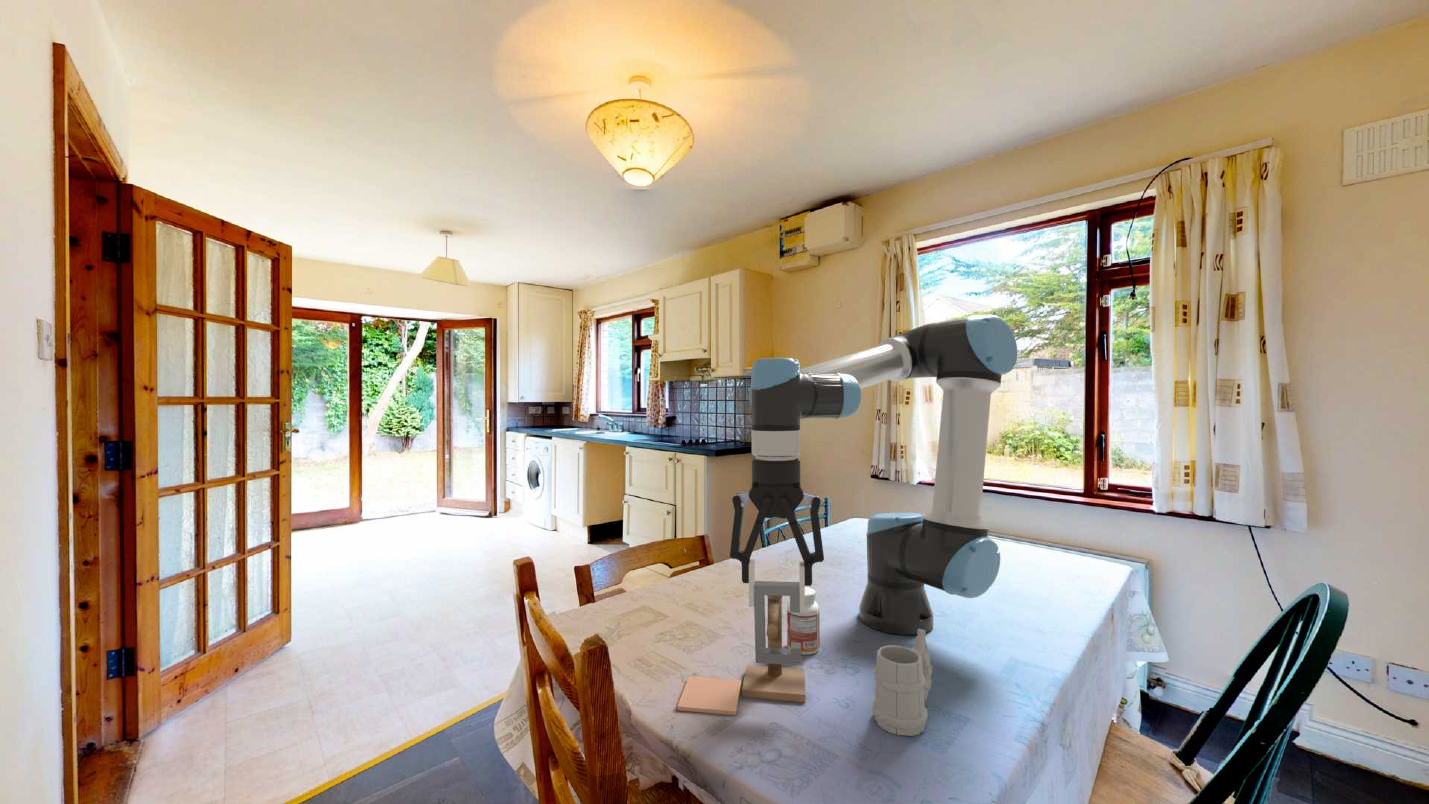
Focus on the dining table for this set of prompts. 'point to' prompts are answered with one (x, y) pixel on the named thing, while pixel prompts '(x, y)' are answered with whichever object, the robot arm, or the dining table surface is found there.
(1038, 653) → the dining table surface
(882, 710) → the mug
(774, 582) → the c link
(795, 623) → the pill bottle
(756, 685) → the hook stand
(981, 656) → the dining table surface
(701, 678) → the tile
